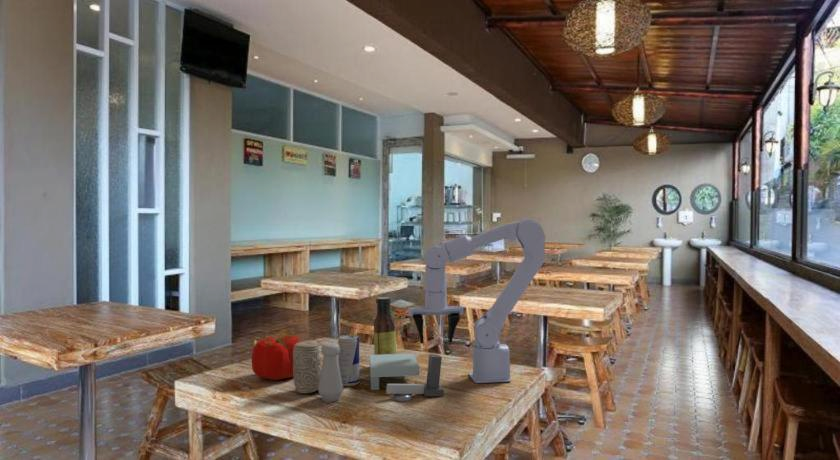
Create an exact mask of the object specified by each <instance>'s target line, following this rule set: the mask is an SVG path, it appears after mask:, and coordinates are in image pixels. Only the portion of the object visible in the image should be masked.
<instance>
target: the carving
mask: <svg viewBox="0 0 840 460" xmlns="http://www.w3.org/2000/svg"><path fill="white" fill-rule="evenodd" d="M319 345H320V344H319V343H318V342H317V341H315V340H303V341H300V342H298V343H296V344H295V345H294V346H295V347H294V348H293V349H294V350H293V377H292V378H293V382H294V383H293V385H294V387H295V388H294V389H295V391H296V392H297V393H299V394H310V393H314V392H316V391H319V390H318V387H319V381H320V376H321V370H322V364H321V356H320V346H319Z"/></svg>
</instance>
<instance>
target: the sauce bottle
mask: <svg viewBox="0 0 840 460" xmlns="http://www.w3.org/2000/svg"><path fill="white" fill-rule="evenodd" d="M375 301H376V313H377V314H376V316H375V318H374V321H373V346H374V347H373V348H374V355H383V354H397V339H396V338H397V335H396V334H397V333H396V324H395V322H394V318H393V316H392V312H391V302H392V301H391V297H390V296H379V297H377V298H376V299H375Z"/></svg>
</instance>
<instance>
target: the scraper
mask: <svg viewBox="0 0 840 460" xmlns="http://www.w3.org/2000/svg"><path fill="white" fill-rule="evenodd" d="M428 355H429V356H428V362H427V374H426V383H386V389H385V393H386V395H387V394H390V395H391V394H393V395H394V394H412V395H417V394H418V395H419V394H420V395H424V396H425V397H444V393H445V389H443V388H442V387H441V385H440V380H441V379H440V378H441V367H442V360H443V359H442V356H441V355H440V354H428Z"/></svg>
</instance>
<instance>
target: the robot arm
mask: <svg viewBox="0 0 840 460" xmlns="http://www.w3.org/2000/svg"><path fill="white" fill-rule="evenodd" d="M501 240H512V241H517V240H518V242H519V244H520V245H521V249H522V253H523V259H522V261H521V262H520V264H519V265H518V267H517V268H516V269H515V271H514V273H513V274H512V275H511V277H510V279H509V280H508V281H507V283H506V284H505V286H504V287H503V289H502V291H501V292H500V294H499V295H498V297H497V298H496V299H495V301H494V303H493V304H492V305H491V307H490V308H489V309H488V310H486V312H485V314H484V315H483V316H481V317H479V318H477V320H476V321H475V323H474V327H473V328H474V334H473V335H474V341H472V371H470V372H468V375H469V377H470V378H471V379H472V381H473V382H474V383H475V384H483V383H485V384H486V383H487V384H488V383H506V382H511V381H512V380H511V354H510V348H509V346H508V345H507V344H505V343H504V344H503V343H502V344H501V342H500V341H499V338H500V332H501V330H502V329H503V327H504V325H505V322H506V321H507V318H508V317H509V315H510V313H511V312H512V310H513V309H514V308H515V306H516V304H517V303H518V301H519V300H520V298H521V297H522V296H523V294H524V292H525V291H526V289H527V288H528V287H529V285H530V283H531V282H532V281H533V280H534V277H536V275H537V274H538V272H539V270H540V269H541V268H542V266H543V264H544V262H545V261H546V260H545V259H546V255H545V254H546V252H545V251H546V248H545V247H546V245H545V244H546V234H545V231H544V228H543V227H542V225H541V224H540V222H539V221H537V220H535V219H532V218H531V219H530V218H529V219H528V218H527V219H522V220H520V221H514V222H510V223H509V222H508V223H504V224H502V225H499V226H496V227H494V228H491V229H489V230H487V231H484V232H482V233H479V234H477V235H475V236H472V237H471V236H469V235H467V234H463V235H461V234H457V235H455V238H452V239H450V240H447V241H444V242H443V241H439V242H438V245H439V246H438V245H433V246H431V247H429V248H428V249H426V251H425V252H424V254H423V260H424V263H425V264H426V265H425V270H424V271H425V273H424V306H416V307H408V310H407V311H408V312H407V313H408V317H412V318H413V321H414V323H415V327H416V329H417V332H418V337H419V343H420V344H424V342H425V341H424V318H423V316H445V315H447V323H448V331H447V339H448V340H447V341H448V342H449V343H452V342H453V338H454V334H455V331H456V329H457V325H458V323H459V322H460V320H461V319H460V318H461V316H463V315H464V307H463V306H462V305H461V306H460V305H459V306H456V305H455V306H452V305H448V304H447V299H448V298H447V291H448V290H447V273H446V263H449V264H451V263H453V262H457V261H460V260H462V259H465V258H468V257H471V256H472V255H474V252H475V250H476V249H478V248H481V247H483V246H486V245H489V244H492V243H496V242H498V241H501Z"/></svg>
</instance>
